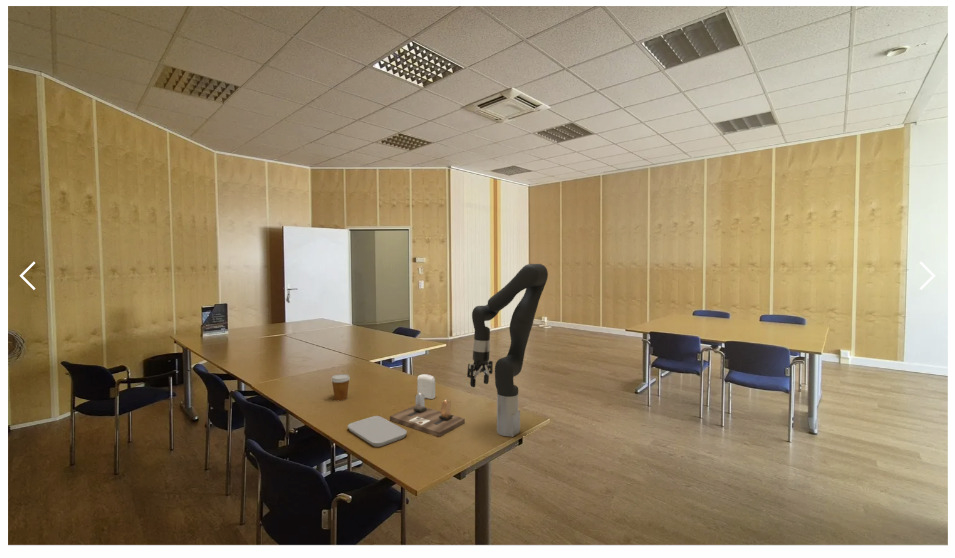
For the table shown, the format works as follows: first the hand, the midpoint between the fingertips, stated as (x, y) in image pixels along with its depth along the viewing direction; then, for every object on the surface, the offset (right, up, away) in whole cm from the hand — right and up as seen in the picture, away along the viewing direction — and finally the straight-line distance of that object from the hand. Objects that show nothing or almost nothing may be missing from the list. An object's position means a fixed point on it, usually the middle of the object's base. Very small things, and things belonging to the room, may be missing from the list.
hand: (479, 385), depth 183 cm
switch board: (-24, -18, +4) cm, 30 cm away
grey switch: (-29, -15, +12) cm, 34 cm away
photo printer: (-29, -16, +36) cm, 49 cm away
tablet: (-45, -19, -8) cm, 49 cm away
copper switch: (-15, -16, +3) cm, 22 cm away
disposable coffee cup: (-74, -16, +34) cm, 83 cm away
